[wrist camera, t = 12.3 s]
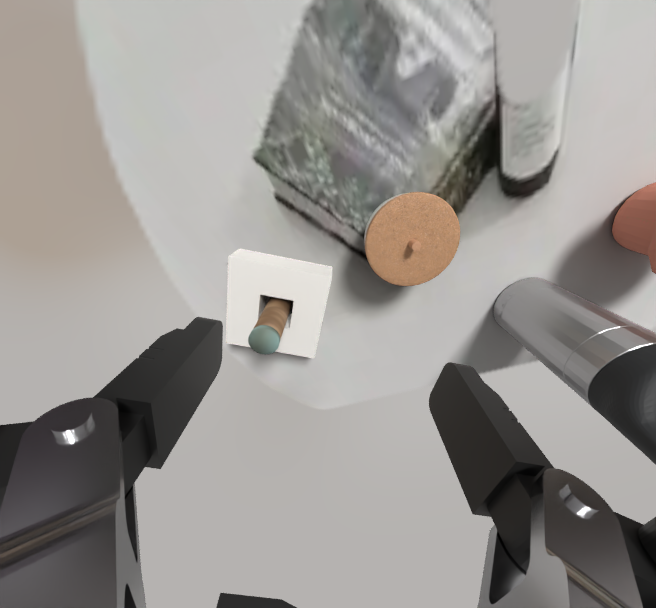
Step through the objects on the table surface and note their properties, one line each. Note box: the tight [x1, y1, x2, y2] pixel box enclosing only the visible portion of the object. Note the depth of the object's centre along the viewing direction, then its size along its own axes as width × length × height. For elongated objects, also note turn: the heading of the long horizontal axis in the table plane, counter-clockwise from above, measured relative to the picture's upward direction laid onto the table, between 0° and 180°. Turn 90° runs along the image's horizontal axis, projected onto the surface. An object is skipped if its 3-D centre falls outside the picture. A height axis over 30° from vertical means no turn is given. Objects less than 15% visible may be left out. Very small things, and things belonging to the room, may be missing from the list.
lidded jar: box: [364, 192, 460, 286], centre depth 32 cm, size 11×11×9 cm
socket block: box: [226, 248, 332, 358], centre depth 39 cm, size 14×14×4 cm
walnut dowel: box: [248, 297, 293, 354], centre depth 36 cm, size 4×4×12 cm
